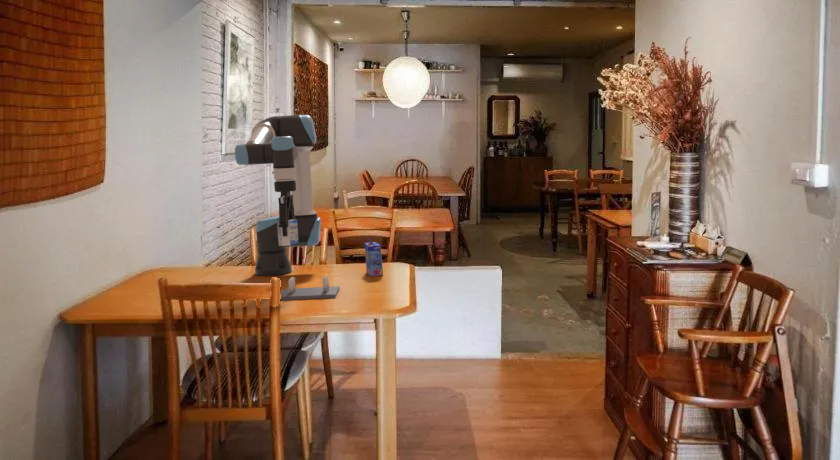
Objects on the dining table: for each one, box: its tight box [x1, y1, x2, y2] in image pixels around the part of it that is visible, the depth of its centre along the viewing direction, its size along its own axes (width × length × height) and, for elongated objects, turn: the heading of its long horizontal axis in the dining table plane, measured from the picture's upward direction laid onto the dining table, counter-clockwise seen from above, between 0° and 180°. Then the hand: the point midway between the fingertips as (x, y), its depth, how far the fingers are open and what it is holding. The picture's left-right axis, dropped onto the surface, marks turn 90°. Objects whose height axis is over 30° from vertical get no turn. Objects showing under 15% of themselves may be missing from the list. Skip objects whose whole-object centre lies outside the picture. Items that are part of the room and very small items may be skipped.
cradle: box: [280, 275, 340, 301], centre depth 277 cm, size 14×20×6 cm
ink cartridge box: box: [364, 238, 384, 277], centre depth 312 cm, size 10×6×14 cm, turn 13°
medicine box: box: [277, 220, 298, 246], centre depth 278 cm, size 8×4×9 cm, turn 166°
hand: (288, 243), depth 279 cm, fingers closed on medicine box, 8 cm apart
